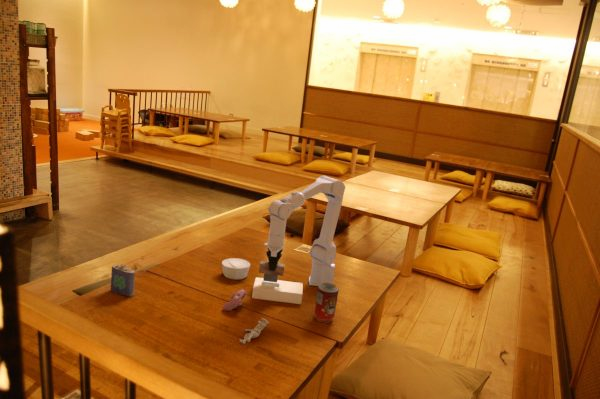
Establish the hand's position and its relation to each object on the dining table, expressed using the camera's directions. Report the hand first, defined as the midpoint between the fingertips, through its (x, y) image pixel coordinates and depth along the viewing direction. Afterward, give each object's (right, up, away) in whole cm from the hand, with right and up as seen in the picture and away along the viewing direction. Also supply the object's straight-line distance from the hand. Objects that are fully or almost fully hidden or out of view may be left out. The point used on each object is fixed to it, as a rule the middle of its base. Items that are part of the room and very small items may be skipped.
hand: (272, 268), depth 175 cm
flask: (-51, -7, -12) cm, 53 cm away
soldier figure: (-4, -17, -29) cm, 34 cm away
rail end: (-1, -5, +1) cm, 5 cm away
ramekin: (-16, -5, +16) cm, 23 cm away
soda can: (+18, -16, -11) cm, 27 cm away
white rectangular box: (+2, -10, +2) cm, 11 cm away
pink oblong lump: (-12, -12, -10) cm, 20 cm away
